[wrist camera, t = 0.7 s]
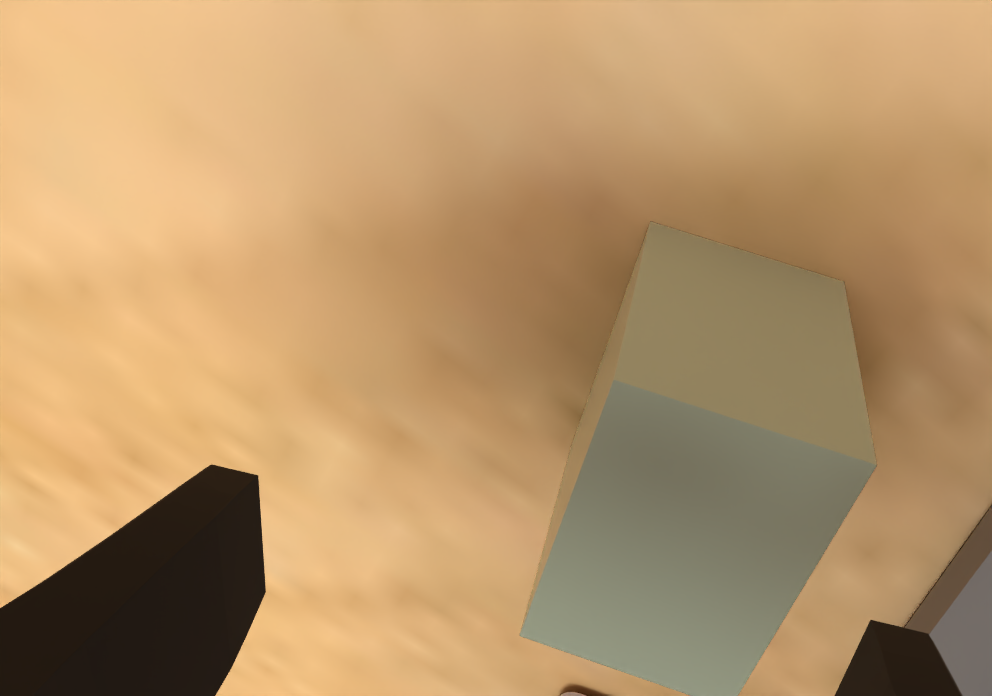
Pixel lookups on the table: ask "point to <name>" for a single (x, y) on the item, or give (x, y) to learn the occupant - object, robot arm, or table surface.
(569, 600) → the block
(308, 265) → the table surface
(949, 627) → the rail board
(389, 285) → the table surface
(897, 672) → the robot arm
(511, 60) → the table surface
